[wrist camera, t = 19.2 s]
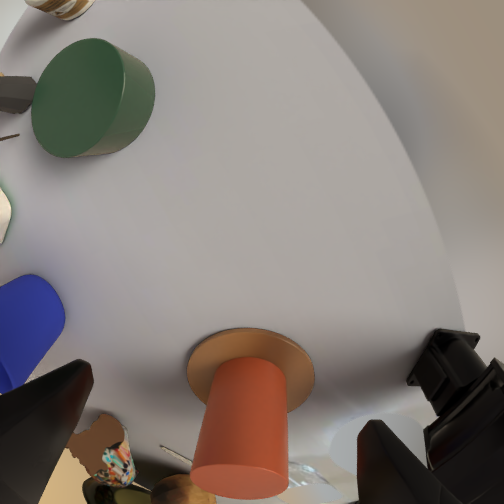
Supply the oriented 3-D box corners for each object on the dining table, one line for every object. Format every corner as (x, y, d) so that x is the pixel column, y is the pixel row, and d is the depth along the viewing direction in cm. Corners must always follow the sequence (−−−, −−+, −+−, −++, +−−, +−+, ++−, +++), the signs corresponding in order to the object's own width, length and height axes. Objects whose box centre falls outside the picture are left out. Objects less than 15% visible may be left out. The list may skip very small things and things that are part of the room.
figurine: (71, 403, 27) (113, 440, 36) (52, 461, 20) (102, 485, 29) (129, 419, 27) (160, 451, 36) (113, 486, 20) (152, 499, 28)
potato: (212, 476, 36) (173, 495, 33) (176, 453, 29) (128, 476, 26) (236, 509, 30) (194, 529, 27) (203, 498, 23) (150, 521, 20)
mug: (-7, 266, 22) (-67, 305, 13) (58, 261, 21) (-20, 316, 12) (17, 330, 25) (-31, 376, 15) (86, 340, 24) (31, 408, 14)
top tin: (265, 346, 22) (259, 457, 12) (297, 393, 23) (303, 491, 14) (199, 369, 23) (169, 468, 13) (236, 411, 24) (223, 502, 15)
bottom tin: (166, 54, 15) (139, 32, 11) (144, 159, 18) (111, 163, 14) (81, 58, 15) (45, 46, 11) (62, 150, 18) (24, 154, 14)
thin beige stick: (169, 442, 29) (157, 447, 30) (168, 445, 28) (156, 450, 29) (268, 489, 32) (253, 493, 33) (267, 491, 31) (253, 495, 32)
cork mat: (332, 341, 22) (333, 345, 21) (292, 422, 25) (292, 426, 25) (194, 313, 22) (192, 317, 21) (184, 402, 25) (183, 406, 25)
